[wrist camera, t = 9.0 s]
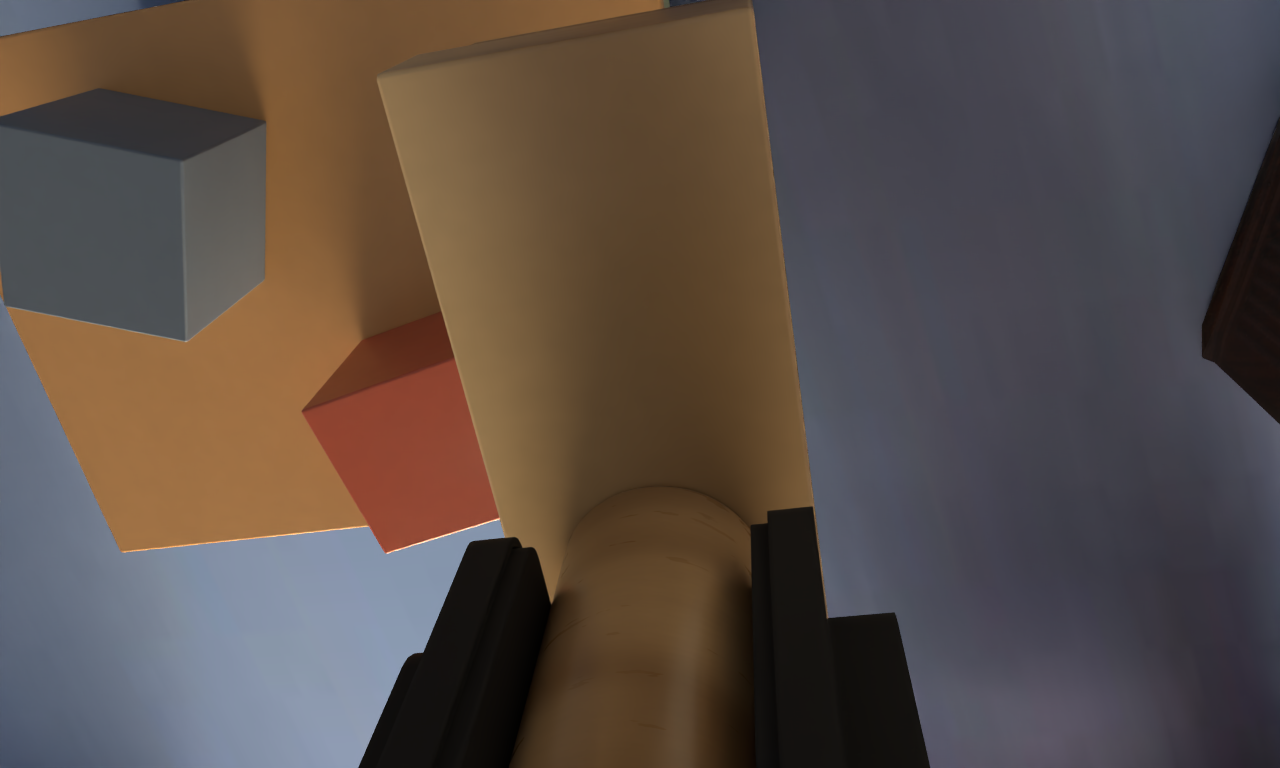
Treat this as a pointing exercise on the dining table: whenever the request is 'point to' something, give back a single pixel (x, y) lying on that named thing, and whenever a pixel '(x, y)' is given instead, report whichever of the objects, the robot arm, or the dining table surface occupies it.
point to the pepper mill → (1251, 294)
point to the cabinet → (294, 251)
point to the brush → (618, 356)
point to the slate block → (131, 211)
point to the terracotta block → (404, 436)
